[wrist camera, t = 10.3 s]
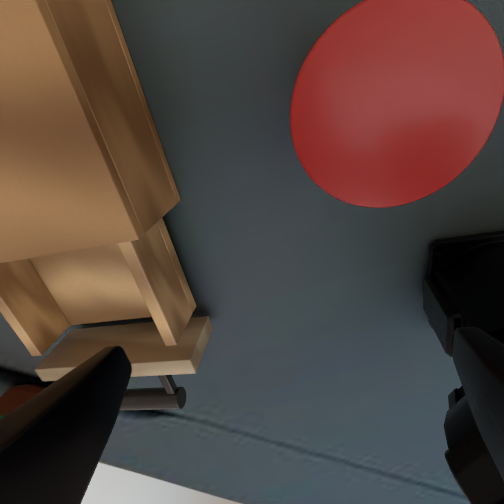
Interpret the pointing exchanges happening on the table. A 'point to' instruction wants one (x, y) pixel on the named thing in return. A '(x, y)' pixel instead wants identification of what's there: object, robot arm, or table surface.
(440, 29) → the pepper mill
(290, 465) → the table surface
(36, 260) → the drawer
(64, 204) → the cabinet
